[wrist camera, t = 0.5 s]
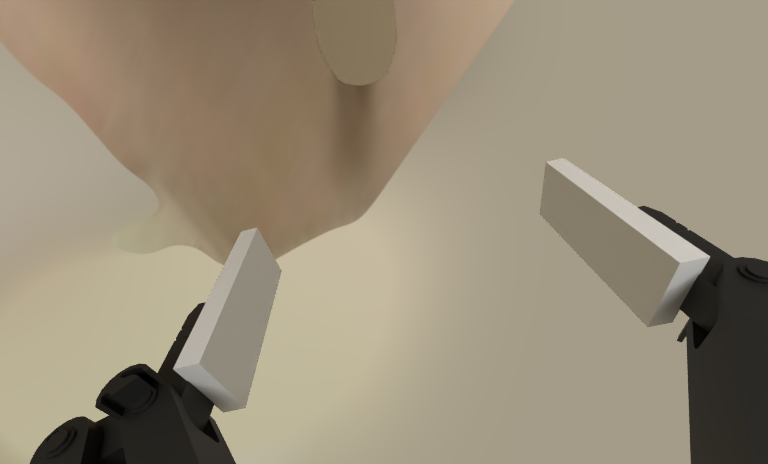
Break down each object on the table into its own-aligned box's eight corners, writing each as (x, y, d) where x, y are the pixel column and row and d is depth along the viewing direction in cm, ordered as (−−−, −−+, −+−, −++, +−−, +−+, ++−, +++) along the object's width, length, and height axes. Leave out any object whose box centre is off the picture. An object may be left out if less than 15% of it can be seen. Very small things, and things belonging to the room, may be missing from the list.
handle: (373, -19, 29) (389, -51, 16) (381, 59, 32) (400, 80, 20) (322, -12, 29) (301, -39, 16) (336, 65, 32) (327, 90, 20)
